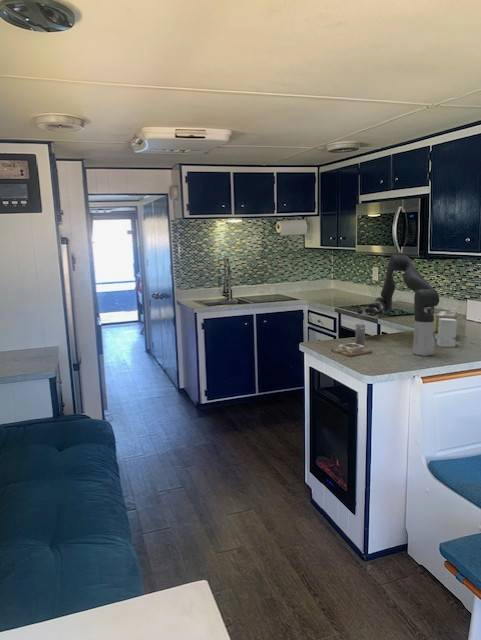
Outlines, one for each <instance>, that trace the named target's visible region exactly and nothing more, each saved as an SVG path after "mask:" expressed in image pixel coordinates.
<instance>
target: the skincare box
mask: <svg viewBox="0 0 481 640" xmlns="http://www.w3.org/2000/svg"><path fill="white" fill-rule="evenodd" d="M456 329H458V319H457V320H455V319H446V318H439V325H438V337H437V340H436V345H437V346H438V347H440V348H442V347H443V348H444V347H445V348H447V347H448V348H451V347H452V348H456V339H457V335H456Z"/></svg>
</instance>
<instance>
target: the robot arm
mask: <svg viewBox="0 0 481 640" xmlns="http://www.w3.org/2000/svg"><path fill="white" fill-rule="evenodd" d="M394 271H395V272H404V273H403V275H402V280H403V283H404V284H405V286H406V287H407V288H408V289H409V290H411V291H413V292H415V293H414V296H413V297H414V298H413V299H414V300H413V301H414V302H413V305H414V307H413V308H414V311H413V314H414V315H413V317H414V320H413V321H414V322H413V323H414V324H413V325H414V327H413V342H412V343H413V347H412V353H413V354H414V355H417V356H422V357H423V356H424V357H428V356H432V355H433V356H434V354H435V340H436V339H435V336H434V330H435V329H434V328H435V315H434V316H433V315H431V314H428V313H426V312H424V308H426V307H434V308H435V307H437V306H438V305H439V303H440V295H439V293H438V291H437V289H435V288H434V287H433V286H432V285H431V284H430V283H428V282H427V281H426V279H425V278H424V277H423V275H422V274H421V272H420V271H418V269H417V268H416V266H414V264H413V261H412V260H411V258H410V257H409V256H408V255H405V254H392V255H390V257H389V261H388V263H387V269H386V272H385V273H386V274H385V279H384V283H383V286H382V290H381V291H380V296H378V297H376V299H375V300H374V301H373V302H372V303H370V304H368V305H367V307H361V306H360V307H358V308H357V309H356V310H357V311H356V312H357V314H358V315H362V314H364V315H369V316H371V317H375V316H378V315H380V316H382V315H384V312H385V313H388V312H389V311H391V309H392V305H393V296H394V294H395V290H396V282H395V279H394V276H393V275H394Z"/></svg>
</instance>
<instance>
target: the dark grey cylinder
mask: <svg viewBox="0 0 481 640" xmlns="http://www.w3.org/2000/svg"><path fill="white" fill-rule="evenodd" d="M354 332H355V336H354V337H355V341H354V343H356V344H359V345H363V346H365V347H366V345H365V344H366V343H365V341H366V325H365V324H362V323H359V324H358V323H357V324H355V331H354Z"/></svg>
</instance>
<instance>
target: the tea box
mask: <svg viewBox="0 0 481 640" xmlns="http://www.w3.org/2000/svg"><path fill="white" fill-rule="evenodd" d="M439 318H446V319H455V320H457V321H458V311H450V310H449V311H448V310H447V311H446V310H445V311H443V310H439V312H438V313H437V314H436V316H435V340H436V341H437V337H438V325H439ZM457 329H458V328H457ZM457 329H456V336H457V333H458V331H457Z"/></svg>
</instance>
